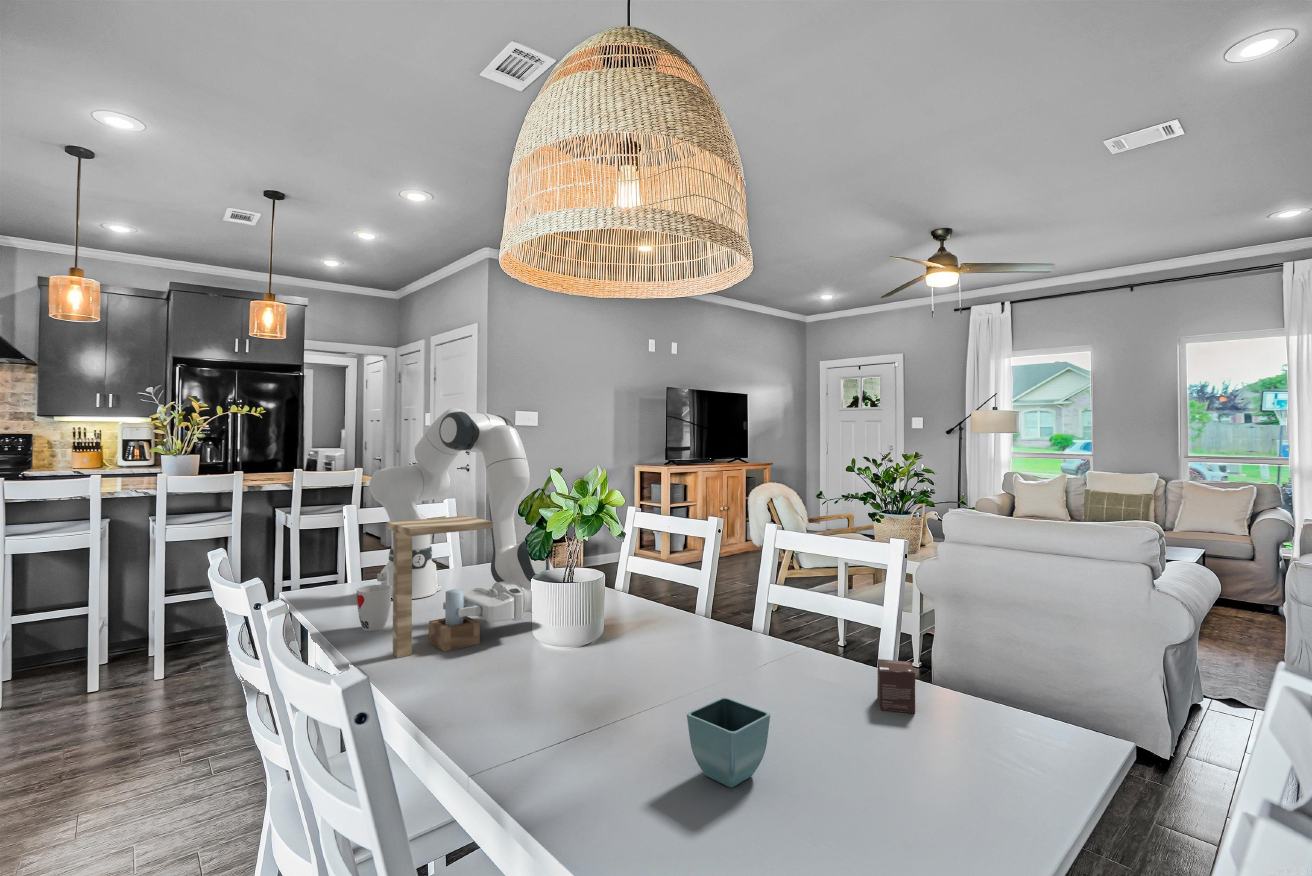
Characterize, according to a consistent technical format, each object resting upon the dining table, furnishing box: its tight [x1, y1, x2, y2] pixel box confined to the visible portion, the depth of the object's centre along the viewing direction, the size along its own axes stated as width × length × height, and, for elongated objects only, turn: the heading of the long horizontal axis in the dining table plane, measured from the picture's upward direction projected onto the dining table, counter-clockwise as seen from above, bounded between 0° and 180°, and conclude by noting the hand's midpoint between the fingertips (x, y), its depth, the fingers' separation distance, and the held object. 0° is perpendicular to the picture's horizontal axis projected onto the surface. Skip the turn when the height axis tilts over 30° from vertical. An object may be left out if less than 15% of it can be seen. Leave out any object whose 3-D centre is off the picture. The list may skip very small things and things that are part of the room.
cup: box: [356, 584, 392, 632], centre depth 160 cm, size 8×8×10 cm
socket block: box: [428, 616, 481, 653], centre depth 149 cm, size 8×8×5 cm
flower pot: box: [686, 696, 771, 788], centre depth 92 cm, size 9×9×9 cm
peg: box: [444, 589, 464, 627], centre depth 149 cm, size 4×4×12 cm
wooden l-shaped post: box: [386, 515, 493, 659], centre depth 147 cm, size 14×20×28 cm
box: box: [876, 658, 916, 714], centre depth 116 cm, size 6×6×7 cm
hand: (450, 609), depth 148 cm, fingers open, 6 cm apart
